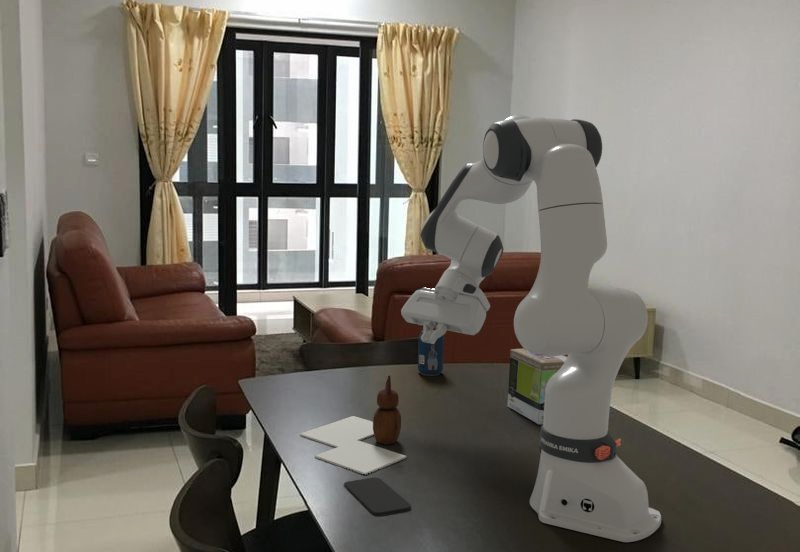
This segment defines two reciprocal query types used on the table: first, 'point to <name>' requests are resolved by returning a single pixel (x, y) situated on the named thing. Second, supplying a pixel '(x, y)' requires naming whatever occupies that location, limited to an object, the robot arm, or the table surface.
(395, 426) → the wooden figurine
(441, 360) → the soda can
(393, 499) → the phone
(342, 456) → the mat side
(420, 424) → the table surface
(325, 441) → the mat front
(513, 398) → the tea box
